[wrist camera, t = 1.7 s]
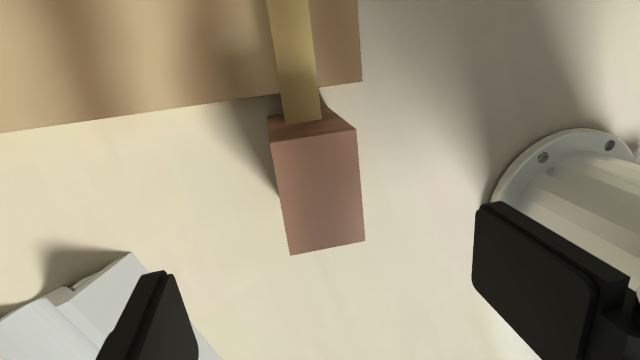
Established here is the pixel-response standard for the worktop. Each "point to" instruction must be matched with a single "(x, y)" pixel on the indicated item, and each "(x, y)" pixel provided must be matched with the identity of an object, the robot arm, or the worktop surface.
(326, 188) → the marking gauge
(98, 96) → the oak board
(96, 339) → the crown molding
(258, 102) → the worktop surface
